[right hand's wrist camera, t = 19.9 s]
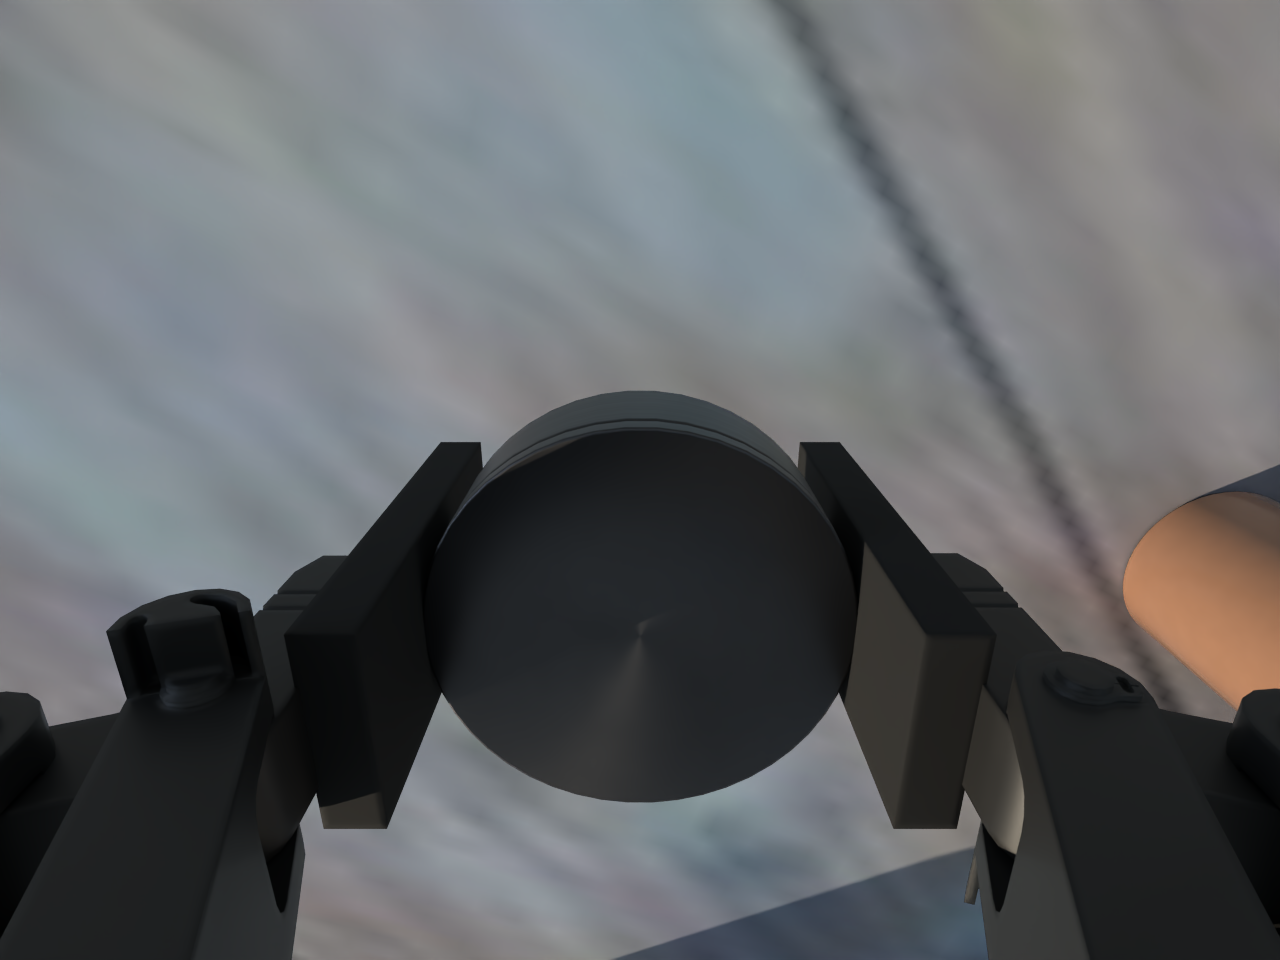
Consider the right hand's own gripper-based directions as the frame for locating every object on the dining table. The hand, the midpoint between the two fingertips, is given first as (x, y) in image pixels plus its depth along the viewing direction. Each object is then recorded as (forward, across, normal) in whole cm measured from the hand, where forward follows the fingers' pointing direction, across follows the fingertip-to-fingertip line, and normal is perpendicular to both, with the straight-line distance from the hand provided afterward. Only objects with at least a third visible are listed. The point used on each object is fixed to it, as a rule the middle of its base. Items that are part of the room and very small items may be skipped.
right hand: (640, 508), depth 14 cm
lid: (-4, 0, 0) cm, 4 cm away
